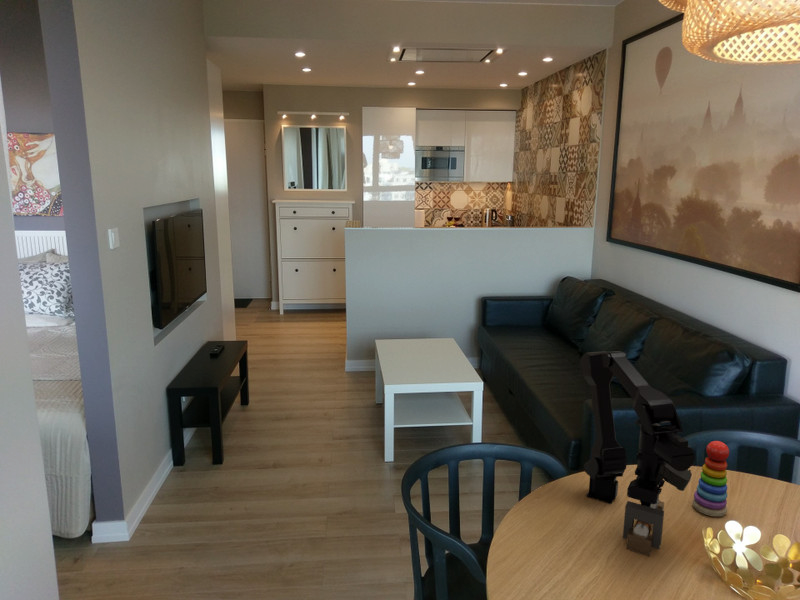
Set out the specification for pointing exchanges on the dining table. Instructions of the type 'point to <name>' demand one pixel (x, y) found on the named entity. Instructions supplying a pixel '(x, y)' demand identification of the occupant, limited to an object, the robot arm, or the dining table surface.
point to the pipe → (642, 535)
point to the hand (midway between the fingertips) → (646, 510)
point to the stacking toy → (713, 482)
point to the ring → (644, 520)
